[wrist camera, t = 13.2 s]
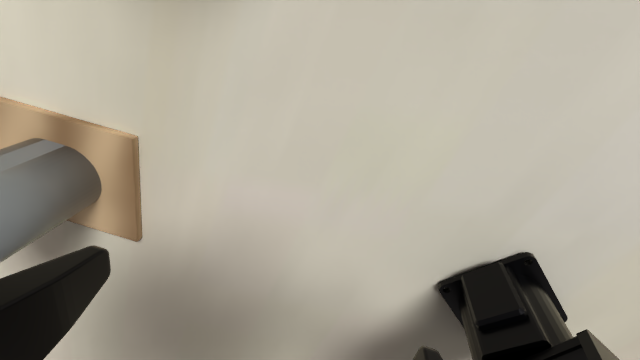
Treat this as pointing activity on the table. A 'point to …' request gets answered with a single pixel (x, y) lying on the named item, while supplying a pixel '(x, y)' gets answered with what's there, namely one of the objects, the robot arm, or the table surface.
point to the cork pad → (100, 149)
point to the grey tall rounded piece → (41, 190)
